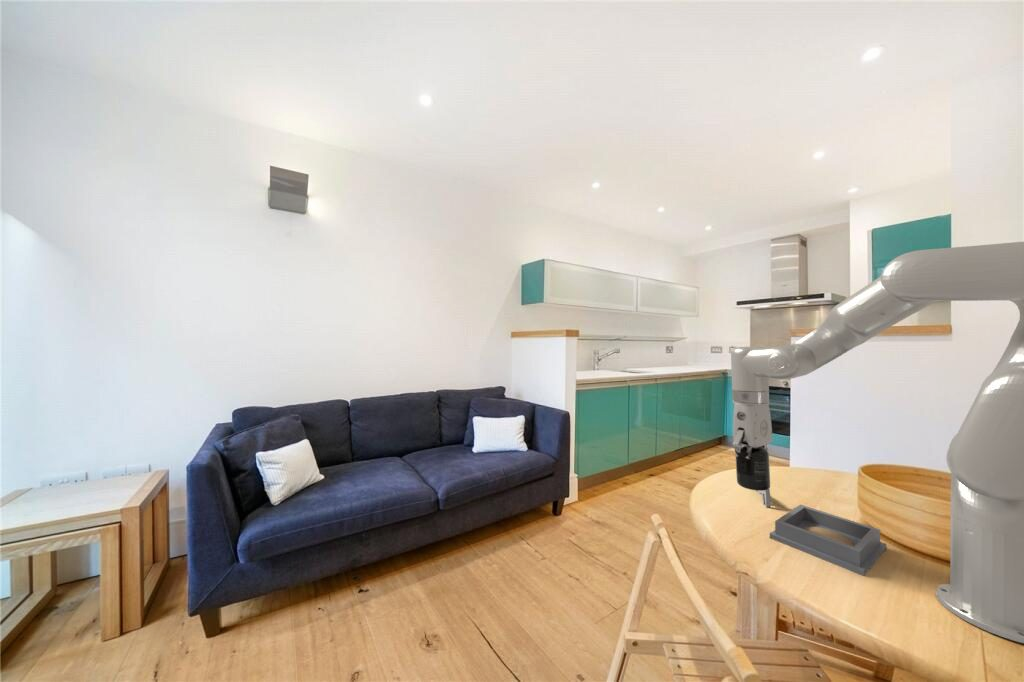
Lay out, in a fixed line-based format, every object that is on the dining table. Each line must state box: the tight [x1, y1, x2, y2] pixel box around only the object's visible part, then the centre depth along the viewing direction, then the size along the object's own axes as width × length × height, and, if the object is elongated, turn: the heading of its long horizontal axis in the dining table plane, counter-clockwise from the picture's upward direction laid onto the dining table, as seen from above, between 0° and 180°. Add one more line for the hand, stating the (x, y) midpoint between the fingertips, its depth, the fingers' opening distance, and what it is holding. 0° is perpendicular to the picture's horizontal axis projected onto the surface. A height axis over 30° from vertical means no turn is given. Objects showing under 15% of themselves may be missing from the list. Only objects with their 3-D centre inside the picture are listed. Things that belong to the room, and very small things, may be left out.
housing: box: [769, 504, 887, 576], centre depth 81 cm, size 16×16×4 cm
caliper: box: [756, 488, 771, 508], centre depth 108 cm, size 20×1×6 cm, turn 163°
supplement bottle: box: [734, 442, 771, 491], centre depth 88 cm, size 7×7×12 cm
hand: (752, 470), depth 88 cm, fingers closed on supplement bottle, 6 cm apart
